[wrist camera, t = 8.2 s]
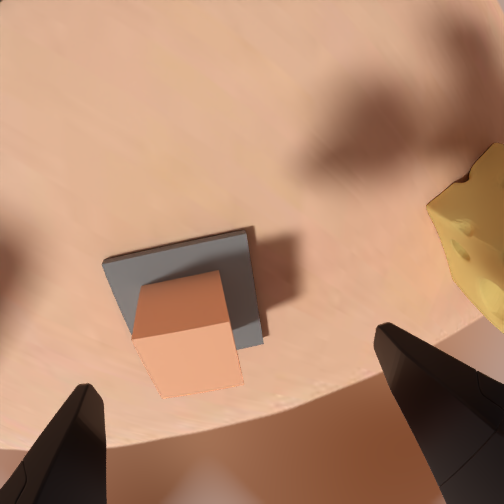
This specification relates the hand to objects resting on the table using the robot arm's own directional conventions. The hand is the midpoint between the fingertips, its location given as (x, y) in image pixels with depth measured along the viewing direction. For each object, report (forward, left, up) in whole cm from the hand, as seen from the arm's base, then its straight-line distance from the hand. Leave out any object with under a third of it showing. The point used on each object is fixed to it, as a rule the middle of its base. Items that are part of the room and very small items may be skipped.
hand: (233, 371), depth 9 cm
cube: (+2, +5, -11) cm, 12 cm away
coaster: (+2, +5, -11) cm, 13 cm away
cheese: (-23, +3, -12) cm, 26 cm away
